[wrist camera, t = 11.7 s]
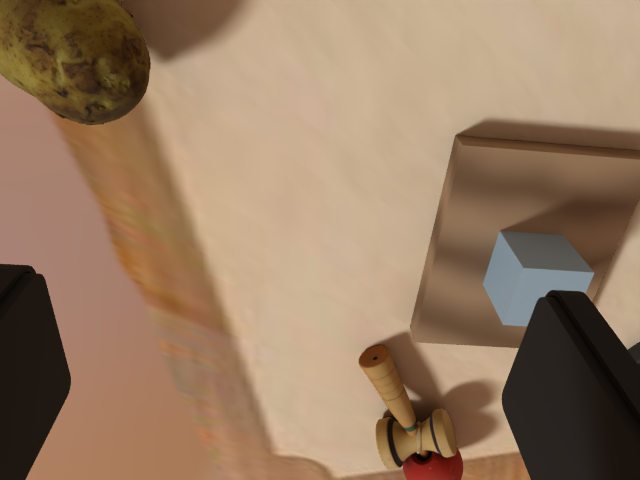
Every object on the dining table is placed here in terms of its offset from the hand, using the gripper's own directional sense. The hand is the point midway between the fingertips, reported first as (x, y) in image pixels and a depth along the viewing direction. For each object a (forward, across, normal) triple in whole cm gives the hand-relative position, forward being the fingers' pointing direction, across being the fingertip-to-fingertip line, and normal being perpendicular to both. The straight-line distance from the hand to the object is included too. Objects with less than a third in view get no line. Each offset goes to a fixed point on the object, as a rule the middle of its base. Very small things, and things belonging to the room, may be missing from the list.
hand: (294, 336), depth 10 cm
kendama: (+28, -12, +34) cm, 45 cm away
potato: (+28, +15, -1) cm, 32 cm away
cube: (+26, -18, +15) cm, 34 cm away
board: (+27, -18, +15) cm, 36 cm away
